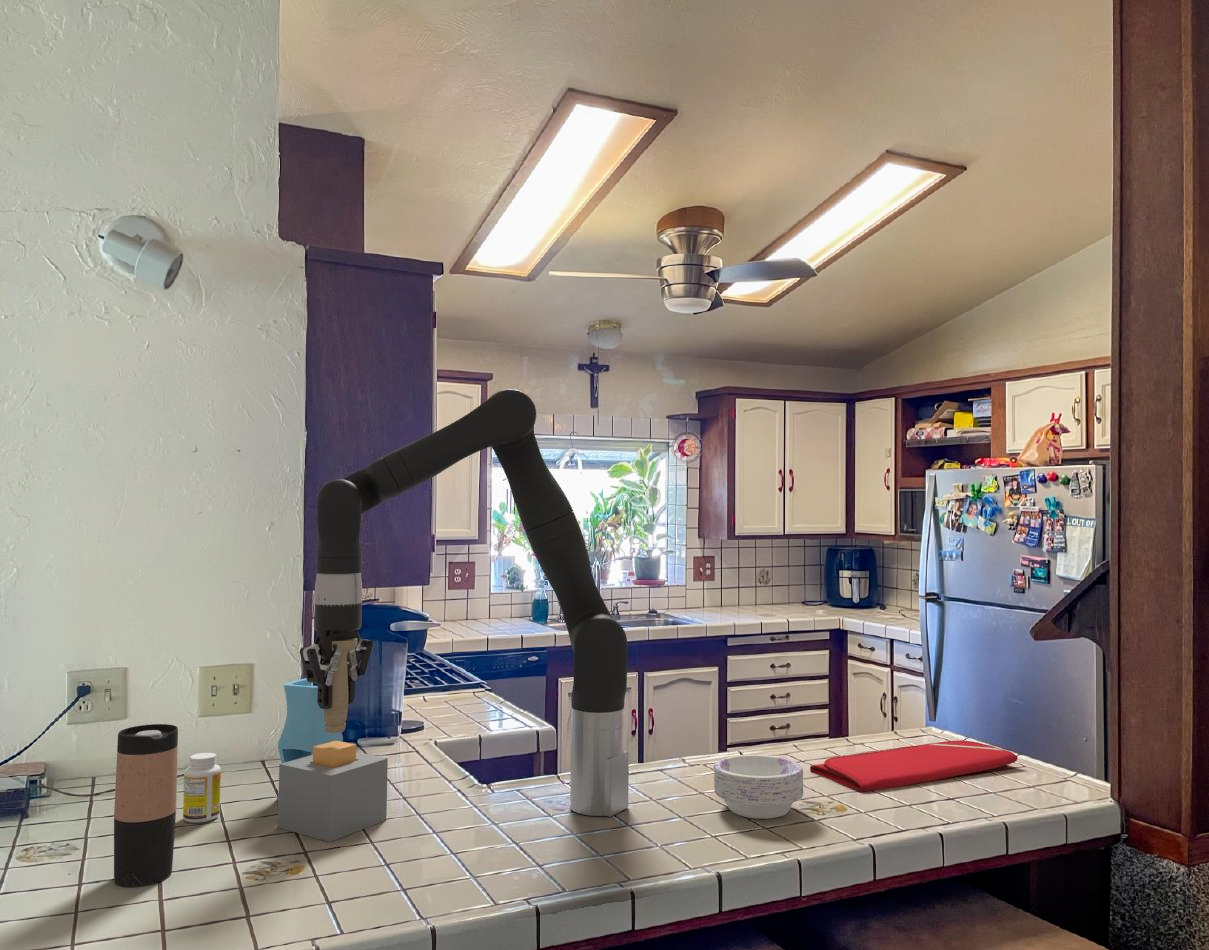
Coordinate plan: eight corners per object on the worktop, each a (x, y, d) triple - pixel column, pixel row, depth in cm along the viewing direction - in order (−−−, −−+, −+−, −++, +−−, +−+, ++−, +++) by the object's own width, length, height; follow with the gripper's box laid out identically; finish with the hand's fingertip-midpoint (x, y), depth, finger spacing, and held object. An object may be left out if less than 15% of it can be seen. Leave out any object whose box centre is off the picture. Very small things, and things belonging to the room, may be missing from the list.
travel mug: (126, 866, 126) (132, 723, 127) (182, 865, 127) (187, 723, 128) (101, 888, 118) (106, 737, 119) (160, 887, 119) (165, 736, 120)
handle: (353, 734, 144) (355, 641, 144) (312, 735, 143) (314, 641, 143) (357, 727, 148) (359, 637, 149) (317, 728, 147) (319, 637, 148)
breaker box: (386, 819, 147) (387, 758, 147) (329, 841, 136) (330, 775, 137) (335, 806, 153) (337, 747, 153) (277, 827, 143) (279, 763, 143)
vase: (341, 791, 162) (344, 680, 163) (314, 804, 154) (317, 687, 155) (305, 786, 164) (308, 677, 165) (276, 799, 157) (279, 684, 158)
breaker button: (355, 769, 146) (356, 744, 146) (332, 776, 142) (333, 750, 142) (335, 764, 148) (335, 740, 149) (312, 771, 144) (312, 746, 145)
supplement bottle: (213, 810, 150) (215, 749, 151) (224, 818, 146) (226, 756, 147) (178, 817, 147) (180, 754, 147) (188, 826, 143) (190, 761, 143)
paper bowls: (702, 799, 159) (702, 754, 159) (781, 795, 162) (781, 751, 162) (731, 828, 144) (731, 779, 144) (818, 823, 147) (818, 774, 148)
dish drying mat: (808, 773, 178) (808, 754, 178) (959, 752, 195) (959, 735, 195) (861, 796, 164) (861, 775, 164) (1020, 771, 181) (1019, 752, 181)
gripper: (319, 605, 139) (317, 716, 138) (386, 598, 151) (384, 701, 150) (287, 602, 142) (285, 711, 142) (355, 596, 155) (353, 696, 154)
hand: (336, 705), depth 146 cm, fingers closed on handle, 4 cm apart
